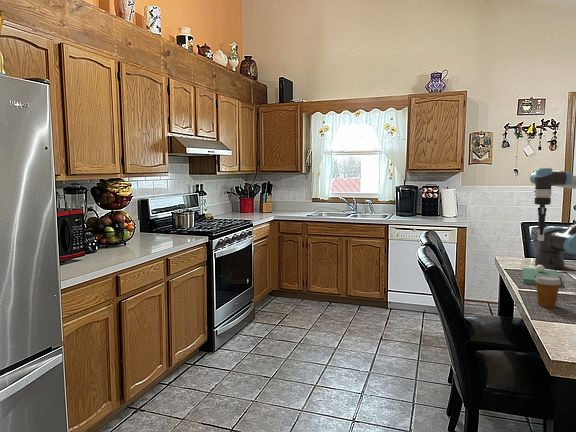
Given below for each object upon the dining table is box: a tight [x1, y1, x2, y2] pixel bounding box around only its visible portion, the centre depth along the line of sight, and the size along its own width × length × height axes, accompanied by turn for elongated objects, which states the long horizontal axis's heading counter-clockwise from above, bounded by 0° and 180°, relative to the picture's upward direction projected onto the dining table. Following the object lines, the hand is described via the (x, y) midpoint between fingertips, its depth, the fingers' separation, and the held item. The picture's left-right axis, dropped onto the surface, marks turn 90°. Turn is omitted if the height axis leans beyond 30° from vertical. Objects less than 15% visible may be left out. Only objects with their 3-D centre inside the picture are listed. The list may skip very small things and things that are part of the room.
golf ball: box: [535, 265, 546, 272], centre depth 231 cm, size 4×4×4 cm
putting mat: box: [521, 267, 562, 288], centre depth 226 cm, size 26×16×2 cm, turn 153°
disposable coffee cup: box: [535, 275, 562, 308], centre depth 184 cm, size 10×10×12 cm
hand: (540, 240), depth 236 cm, fingers open, 3 cm apart
